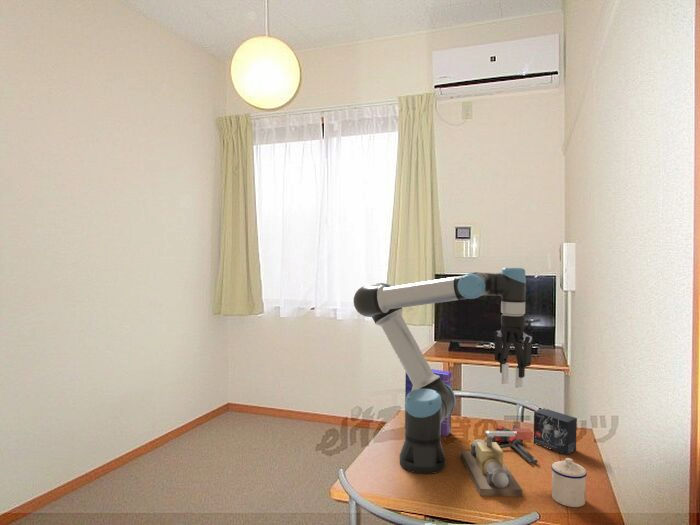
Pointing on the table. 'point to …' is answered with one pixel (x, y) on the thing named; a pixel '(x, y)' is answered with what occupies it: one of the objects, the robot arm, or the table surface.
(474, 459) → the valve stand
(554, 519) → the table surface
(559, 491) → the white lidded jar
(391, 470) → the table surface
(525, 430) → the valve lever
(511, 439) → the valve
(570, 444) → the small box
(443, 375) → the cereal box
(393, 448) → the table surface
